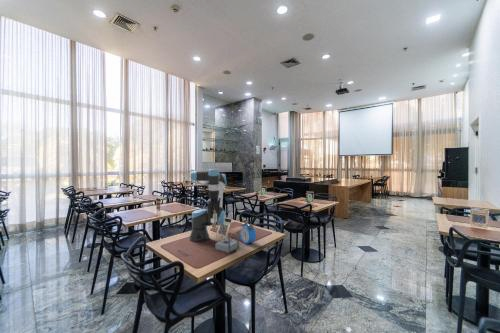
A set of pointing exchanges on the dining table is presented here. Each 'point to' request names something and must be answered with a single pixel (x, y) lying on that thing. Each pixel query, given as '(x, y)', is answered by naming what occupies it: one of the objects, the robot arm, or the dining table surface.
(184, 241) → the dining table surface
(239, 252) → the dining table surface
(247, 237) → the alarm clock
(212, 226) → the peg
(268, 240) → the dining table surface
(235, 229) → the socket station
